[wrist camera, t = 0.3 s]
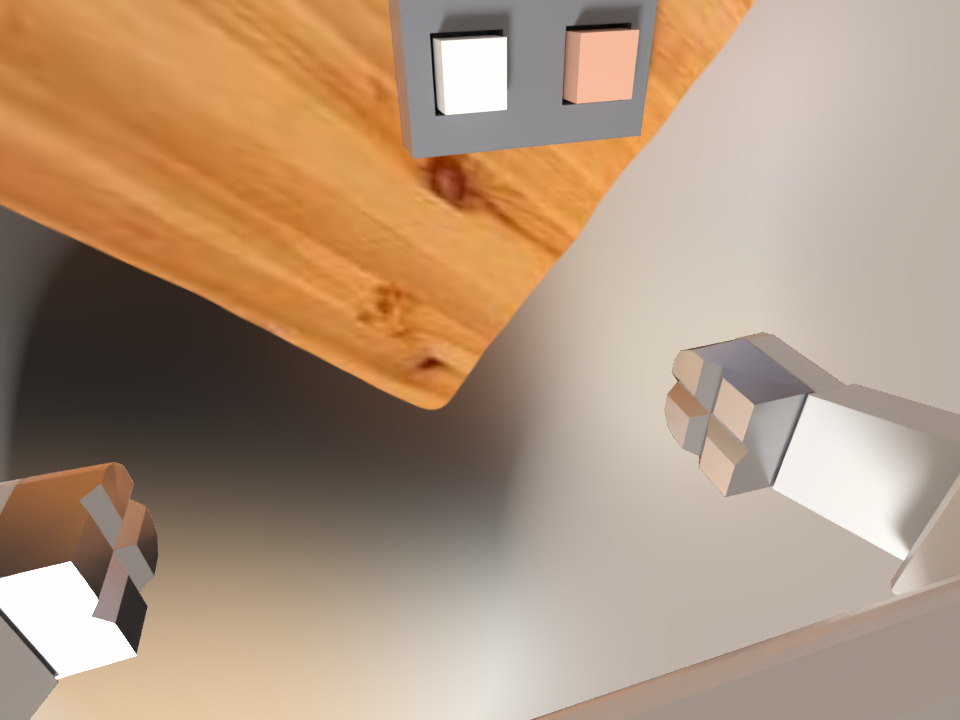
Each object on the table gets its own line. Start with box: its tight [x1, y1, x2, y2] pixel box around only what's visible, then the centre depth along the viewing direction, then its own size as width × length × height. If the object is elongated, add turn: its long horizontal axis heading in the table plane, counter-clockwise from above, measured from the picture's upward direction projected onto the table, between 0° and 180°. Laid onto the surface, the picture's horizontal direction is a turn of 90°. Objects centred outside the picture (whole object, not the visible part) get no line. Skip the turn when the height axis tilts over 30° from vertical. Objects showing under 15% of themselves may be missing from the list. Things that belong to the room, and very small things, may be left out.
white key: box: [433, 35, 507, 115], centre depth 43 cm, size 5×5×3 cm
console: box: [389, 0, 658, 159], centre depth 47 cm, size 12×21×5 cm, turn 92°
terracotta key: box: [562, 28, 639, 104], centre depth 46 cm, size 5×5×3 cm
